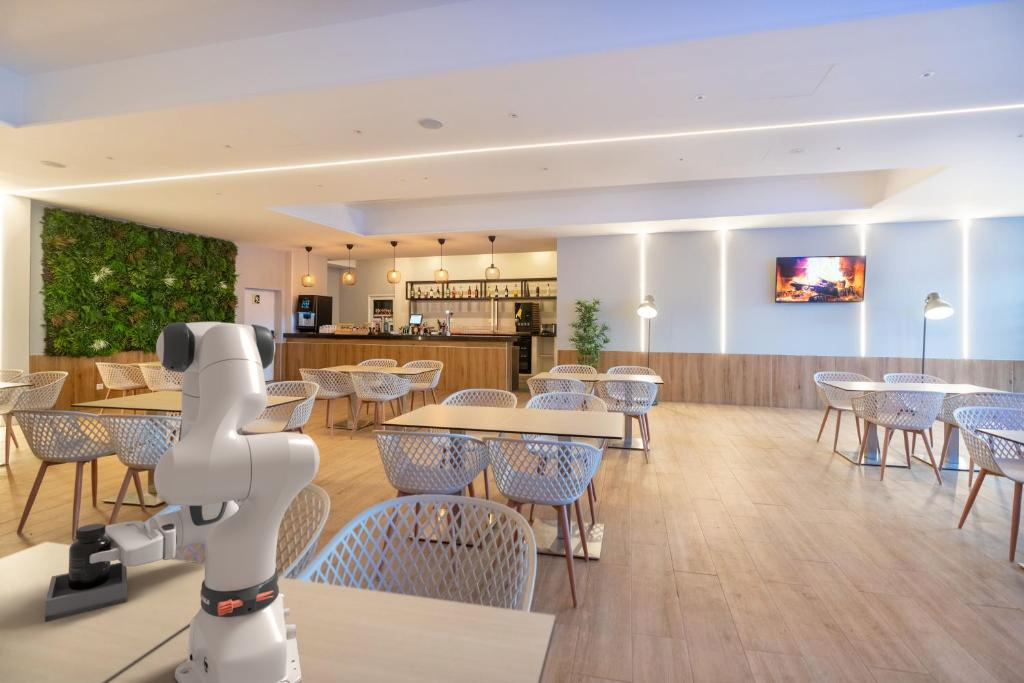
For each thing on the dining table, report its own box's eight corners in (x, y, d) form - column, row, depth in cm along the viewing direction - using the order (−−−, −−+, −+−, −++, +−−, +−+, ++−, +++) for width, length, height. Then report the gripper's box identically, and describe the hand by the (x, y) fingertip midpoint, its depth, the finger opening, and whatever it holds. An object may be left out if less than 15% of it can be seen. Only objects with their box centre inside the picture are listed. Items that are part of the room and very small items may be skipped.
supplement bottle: (115, 581, 107) (116, 526, 107) (75, 595, 101) (76, 536, 101) (102, 572, 110) (103, 519, 110) (62, 585, 105) (64, 528, 105)
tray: (126, 601, 105) (127, 582, 105) (44, 621, 97) (45, 601, 97) (125, 578, 114) (126, 561, 114) (51, 595, 107) (51, 576, 107)
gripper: (148, 510, 122) (74, 525, 112) (177, 532, 109) (96, 552, 99) (147, 535, 122) (73, 553, 112) (176, 560, 109) (96, 583, 99)
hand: (84, 553), depth 105 cm, fingers closed on supplement bottle, 7 cm apart
